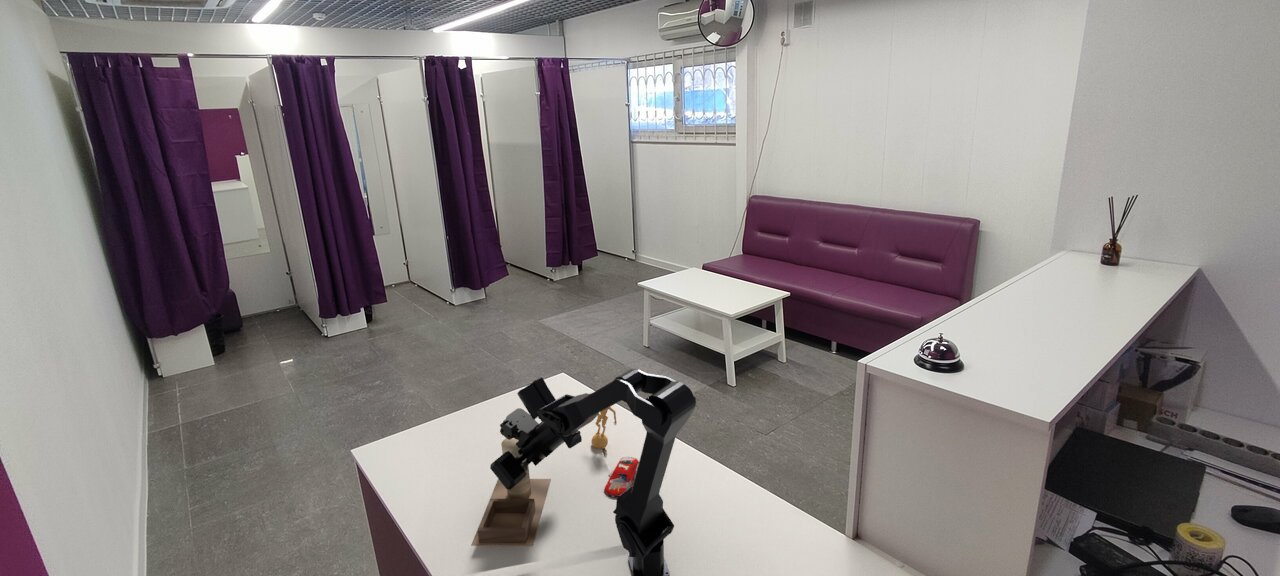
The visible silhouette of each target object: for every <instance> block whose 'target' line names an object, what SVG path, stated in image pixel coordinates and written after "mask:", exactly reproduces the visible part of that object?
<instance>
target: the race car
mask: <svg viewBox="0 0 1280 576" xmlns="http://www.w3.org/2000/svg"><path fill="white" fill-rule="evenodd" d="M639 461H640V460H638V458H635V457H630V456H623V457H622V458H620V459H619V461H618V463H617V464H616V466H615V468H614V470H613V471H612V473H611V475H610V474H608V475H607V476H608V477H609V478H608V481H607V482H606V485H604V489H603V493H604V494H605V495H606V496H607V497H609V498H611V499H616V501H617V498H618V496H619V495H621V494H622V493H623V492H624V491H626V490H627V489H628V488H629V487H631V486H632V485H633V484H634V480H635V476H636V472H637V468H638V465H639Z"/></svg>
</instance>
